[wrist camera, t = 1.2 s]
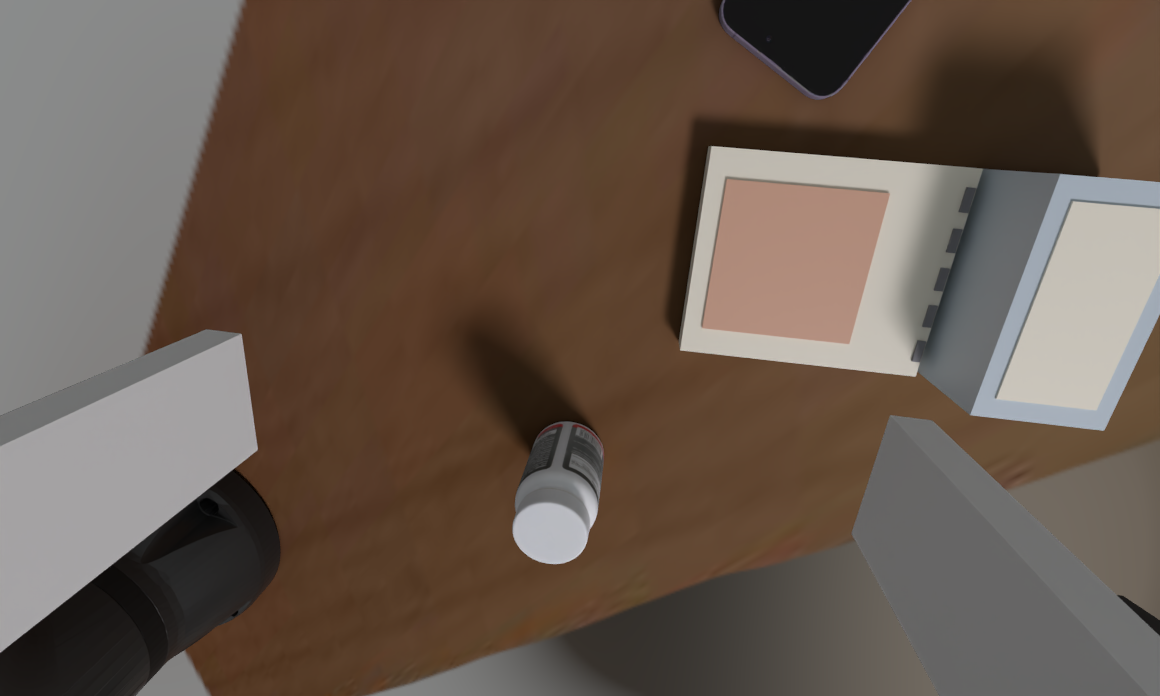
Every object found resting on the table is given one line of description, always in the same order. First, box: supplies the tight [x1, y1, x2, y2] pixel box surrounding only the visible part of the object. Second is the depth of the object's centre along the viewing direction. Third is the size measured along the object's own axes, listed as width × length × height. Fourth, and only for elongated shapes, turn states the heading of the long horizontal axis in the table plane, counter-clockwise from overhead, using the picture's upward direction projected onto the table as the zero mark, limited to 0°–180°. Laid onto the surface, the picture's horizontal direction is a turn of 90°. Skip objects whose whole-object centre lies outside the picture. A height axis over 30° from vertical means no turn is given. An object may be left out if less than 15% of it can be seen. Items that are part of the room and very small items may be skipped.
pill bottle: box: [513, 421, 604, 564], centre depth 32 cm, size 5×5×8 cm
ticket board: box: [679, 146, 983, 377], centre depth 29 cm, size 13×11×2 cm
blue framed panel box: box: [917, 169, 1160, 431], centre depth 26 cm, size 6×11×6 cm, turn 176°
